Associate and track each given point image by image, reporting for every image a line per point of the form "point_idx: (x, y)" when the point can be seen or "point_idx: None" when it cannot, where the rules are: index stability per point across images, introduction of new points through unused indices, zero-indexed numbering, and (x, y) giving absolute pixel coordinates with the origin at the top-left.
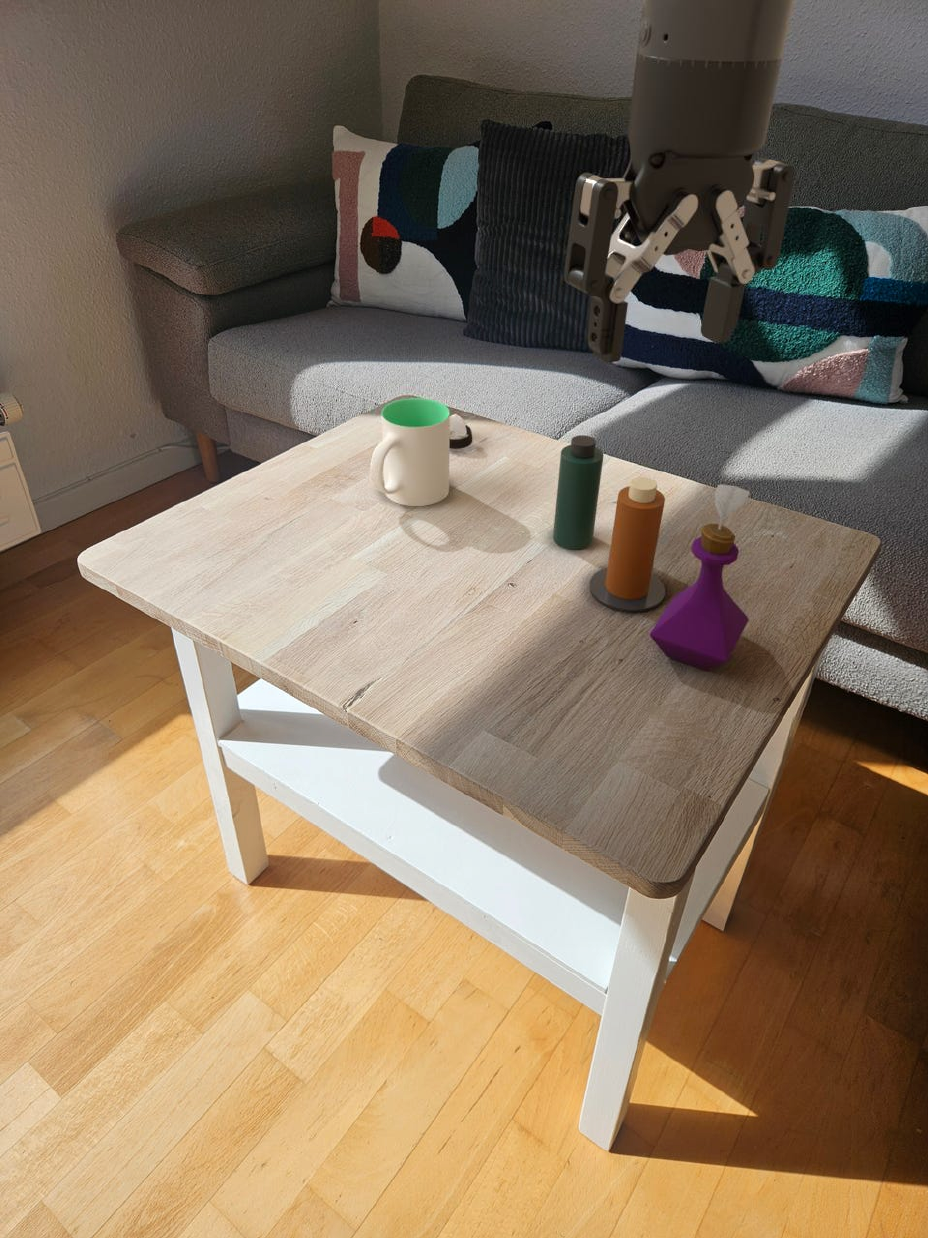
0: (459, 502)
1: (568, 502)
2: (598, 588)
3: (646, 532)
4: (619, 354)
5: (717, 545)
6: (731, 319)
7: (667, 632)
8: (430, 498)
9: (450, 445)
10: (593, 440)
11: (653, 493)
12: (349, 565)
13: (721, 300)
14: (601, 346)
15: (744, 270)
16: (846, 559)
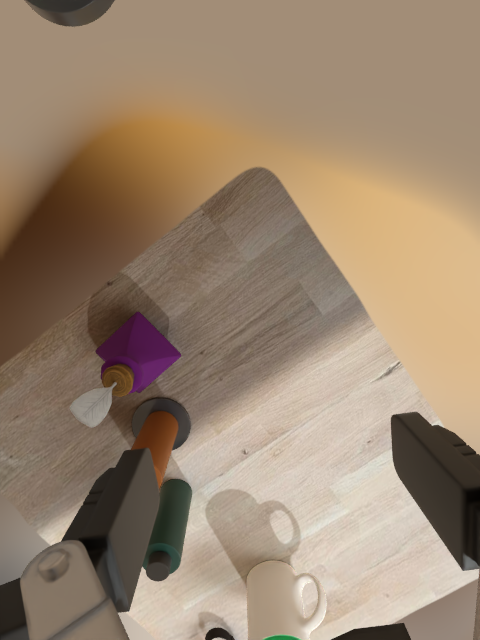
0: (245, 558)
1: (181, 515)
2: (184, 429)
3: (147, 445)
4: (402, 417)
5: (125, 367)
6: (118, 476)
7: (169, 350)
8: (269, 565)
9: (225, 632)
10: (148, 569)
11: None
12: (352, 503)
13: (129, 524)
14: (451, 432)
15: (60, 573)
16: None
